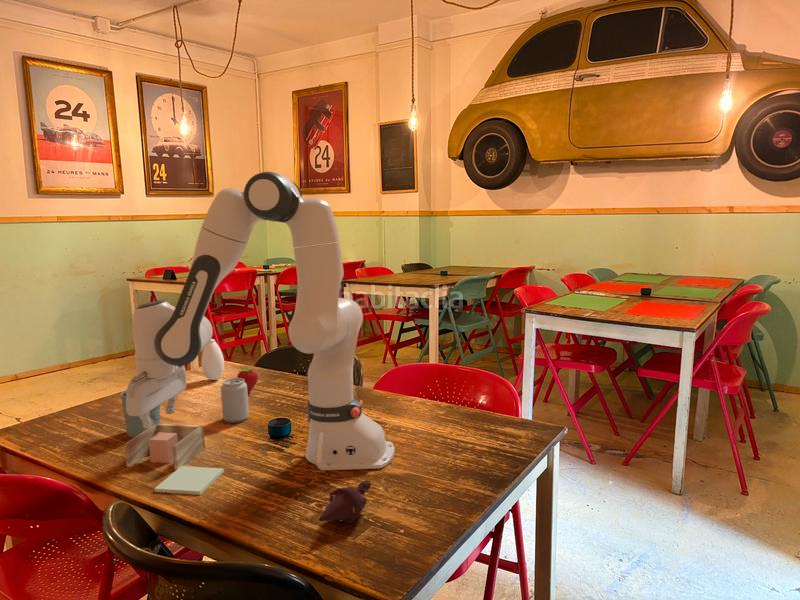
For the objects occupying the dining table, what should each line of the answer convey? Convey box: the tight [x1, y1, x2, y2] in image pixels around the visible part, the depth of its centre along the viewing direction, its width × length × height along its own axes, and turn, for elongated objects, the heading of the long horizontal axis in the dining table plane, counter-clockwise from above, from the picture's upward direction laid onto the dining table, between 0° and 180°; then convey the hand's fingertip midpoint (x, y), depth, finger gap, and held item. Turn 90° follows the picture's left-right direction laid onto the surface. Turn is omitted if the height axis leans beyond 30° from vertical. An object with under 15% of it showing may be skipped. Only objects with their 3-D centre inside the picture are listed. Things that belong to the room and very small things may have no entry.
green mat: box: [154, 465, 225, 496], centre depth 129 cm, size 11×11×1 cm
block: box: [149, 432, 178, 464], centre depth 141 cm, size 5×4×6 cm
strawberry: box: [236, 365, 259, 393], centre depth 191 cm, size 6×8×10 cm
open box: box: [124, 423, 206, 471], centre depth 142 cm, size 14×13×6 cm
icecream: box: [318, 480, 372, 524], centre depth 111 cm, size 7×7×15 cm
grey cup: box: [120, 389, 161, 439], centre depth 158 cm, size 10×10×12 cm
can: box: [220, 377, 250, 424], centre depth 166 cm, size 8×8×12 cm
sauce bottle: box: [200, 337, 225, 381], centre depth 205 cm, size 8×8×18 cm
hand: (159, 420), depth 140 cm, fingers open, 8 cm apart
